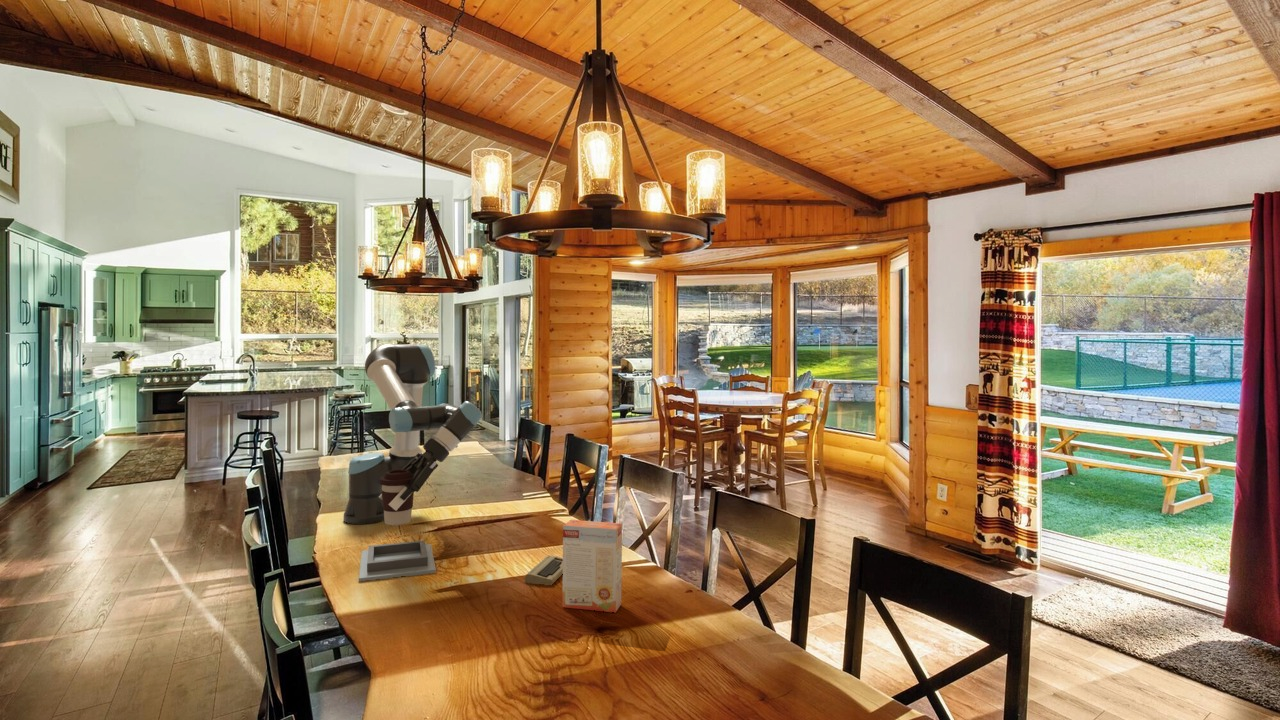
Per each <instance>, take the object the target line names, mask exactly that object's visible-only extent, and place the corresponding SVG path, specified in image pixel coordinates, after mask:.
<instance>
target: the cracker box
mask: <svg viewBox="0 0 1280 720" xmlns="http://www.w3.org/2000/svg"><path fill="white" fill-rule="evenodd" d="M622 554H623V524H622V523H619V522H607V521H591V520H580V519H579V520H578V519H570V520H569V521H567V522H565V524H564V525H562V558H563V575H562V591H561V592H562V593H561V594H562V597H561V598H562V608H568V609H577V610H585V611H586V610H587V611H594V610H595V611H594V612H603V611H604V613H605V612H606V613H612V612H614V614H615V613H617V611H619V609H620V606H621V605H622V587H623V586H622V585H623V584H622V583H623V582H622V578H623V577H622V576H623V575H622V574H623V573H622V572H623V570H622V569H623V562H622V561H623V560H622V559H623V557H622V556H623V555H622Z"/></svg>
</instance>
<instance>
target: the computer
mask: <svg viewBox="0 0 1280 720" xmlns="http://www.w3.org/2000/svg"><path fill="white" fill-rule="evenodd" d="M562 574H563V557H559V556H556V555H548V554H547V556H545V557H544V558H543V559H542V560H541V561H539V563H537V564H535V566H534V567H533V568H532V569H530V570H529V571H528V573H526V574H525V577H524V583H525V584H530V583H532V585H539V584H546V585H545V586H548V585H552V584H553V583H554V582H555V581H556V580H557V579H558V578H559V577H560V576H561V575H562ZM562 576H563V575H562ZM560 578H561V577H560ZM560 578H559V579H560ZM559 579H558V580H559ZM558 580H557V581H558ZM557 581H556V582H557ZM556 582H555V583H556ZM555 583H554V584H555ZM554 584H553V585H554ZM553 585H552V586H553Z"/></svg>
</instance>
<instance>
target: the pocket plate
mask: <svg viewBox="0 0 1280 720" xmlns="http://www.w3.org/2000/svg"><path fill="white" fill-rule="evenodd" d="M436 568H437V567H436V565H435V559H434V554H433V548H432V544H431V543H426V540H424V539H423V540H414V541H405V542H393V543H392V542H391V543H384V544H374V545H372V544H371V545H368V549H364V550H361V557H360V565H359V573H358V582H359V581H363V582H366V581H365V580H372V581H377V580H376V579H380V580H387V579H388V578H389V579H394V578H393V577H398V578H402V577H401V576H406V577H414V576H421V575H428V574H429V575H430V574H436V573H437V569H436Z"/></svg>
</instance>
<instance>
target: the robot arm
mask: <svg viewBox="0 0 1280 720" xmlns="http://www.w3.org/2000/svg"><path fill="white" fill-rule="evenodd" d="M435 361H436V360H435V357H434V353H433V351H432V349H431V347H429V346H427V345H426V344H417V343H416V344H415V343H413V344H410V343H409V344H388V343H387V344H383V345H379V346H377V347H375V348H374V349H373V350H371V352H370V353H369V354H368V355H367V356H366V360H365V361H364V371H365V373H366V376H367V378H368V380H369V381H371V382H373V383H374V384H375V385H376V387H377V389H378V390H379V392H380V394H381V396H382V398H383V399H384V401H385V403H386V404H387V406H388V408H389V410H390V412H389V414H388V423H389V427H390V429H391V431H393V432H394V444H393V446H391V448H390V449H389V450H388V451H389V453H388V455H386V456H385V455H384V454H383V453H382V452H369V453H368V452H367V453H363V454H359V455H358V456H354V457H353V458H351V459H350V461H349V463H348V501H347V504H346V507H345V509H344V512H343V522H344V521H345V522H344V523H346V522H347V524H349V523H352V524H351V525H367V524H368V523H369V524H375V523H380V522H382V520H383V521H385V520H384V510H383V503H382V485H381V484H380V478H381V477H383V476H384V475H385V473H386V472H388V471H391V470H409V471H410V472H411V474H412V475H414V476H413V478H412V479H411V481H410V482H409V484H406V485H405V486H406V487H407V488H406V487H404V488H403V489H402V490H401V491H400V492H399V494H398V495H397V496H396V497H395V498H394V499H393V500H392V501H391V502H390V503H389V504H388V505H389V506H391V507H392V508H393V509H394V510H397V509H398V508H399V507H400V506H401V505H402V504H403V503H404V502H405V500H406V499H407V498H408V497H409V496H410V495H411V494H412V492H413V493H415V492H416V493H418V492H420V490H421V488H422V487H423V486H424V485H425V483H426V481H427V480H428V479H429V477H430V476H431V475H432V474H433V472H434V471H435V470H436V469H437V467H439V464H438V463H437V461H438V462H439V463H443V462H444V461H445V460H446V459H447V458H448V456H449V455H450V452H453V451H454V450H455V448H456V449H457V448H458V447H459V444H460V443H461V442H462V441H463V440H464V439H465V437H467V435H468V434H469V433H470V432H471V431H472V430H473V429H474V428H475V427H476V426H477V425H478V423H479V422H480V421H481V419H482V418H483V413H482V411H481V410H480V409H479V408H478V407H477V406H476V405H475V404H474V403H472V402H470V401H467V400H465V401H464V402H463V403H462V404H460V405H459V406H456V405H454V404H451V403H440V404H438V405H425V406H422V404H423V403H422V402H423V391H424V386H425V385H426V384H427V383H429V382H428V381H429V377H432V376H434V373H435V370H436V362H435ZM428 430H429V431H431V430H436V431H435V432H434V433H433V434H432V437H431V438H429V439H428V440H427V441H426V442H425V443H424V444H423V446H422V448H423V449H424V451H425V452H423V450H422V448H421V447H420V446H419V441H420V431H428ZM379 521H380V522H379ZM366 523H367V524H366ZM369 524H368V525H369Z"/></svg>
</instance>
